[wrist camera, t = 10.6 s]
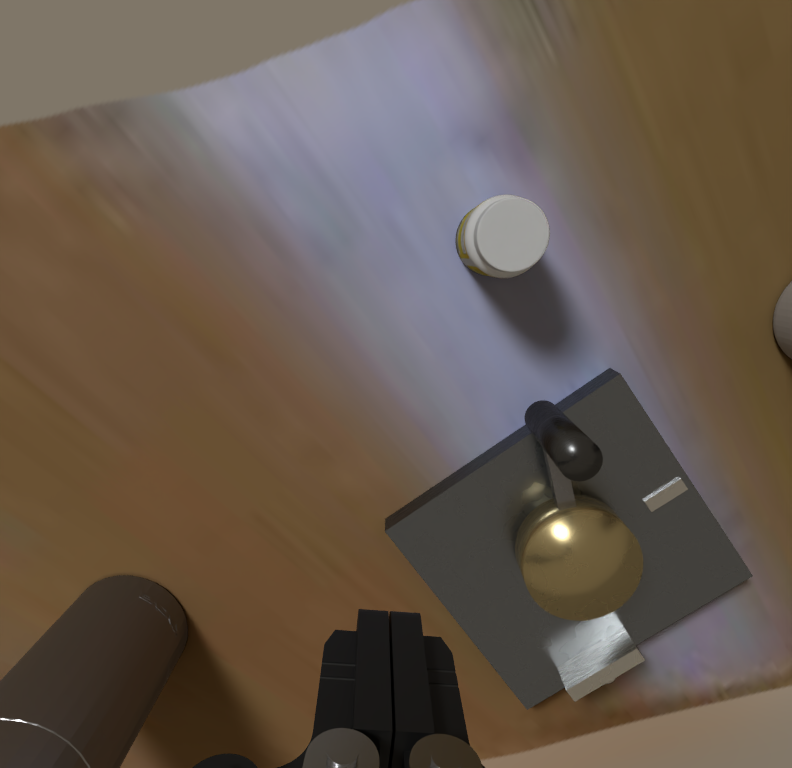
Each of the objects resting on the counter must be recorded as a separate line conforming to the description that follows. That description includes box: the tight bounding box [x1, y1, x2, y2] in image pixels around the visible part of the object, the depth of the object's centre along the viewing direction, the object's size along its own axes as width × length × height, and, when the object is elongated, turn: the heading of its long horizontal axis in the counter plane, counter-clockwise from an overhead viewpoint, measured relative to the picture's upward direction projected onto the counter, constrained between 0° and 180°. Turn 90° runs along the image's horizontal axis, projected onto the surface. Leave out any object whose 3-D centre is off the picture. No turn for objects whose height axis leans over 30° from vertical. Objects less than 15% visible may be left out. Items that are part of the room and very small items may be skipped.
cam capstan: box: [515, 401, 643, 621], centre depth 36 cm, size 15×8×8 cm, turn 15°
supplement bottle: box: [456, 195, 550, 278], centre depth 35 cm, size 5×5×8 cm
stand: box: [385, 368, 753, 710], centre depth 42 cm, size 20×19×4 cm
